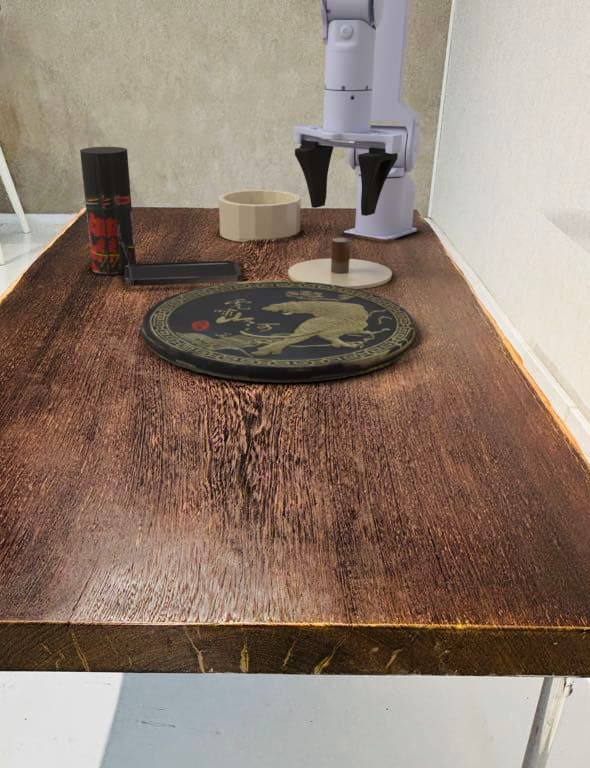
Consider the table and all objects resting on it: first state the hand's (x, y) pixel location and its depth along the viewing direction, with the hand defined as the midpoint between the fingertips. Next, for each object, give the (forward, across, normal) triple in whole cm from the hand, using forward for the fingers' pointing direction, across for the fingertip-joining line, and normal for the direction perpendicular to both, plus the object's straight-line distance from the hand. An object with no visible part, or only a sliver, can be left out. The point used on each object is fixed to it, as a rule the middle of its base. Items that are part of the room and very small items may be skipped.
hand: (342, 210), depth 108 cm
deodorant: (+9, -27, -15) cm, 32 cm away
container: (+9, -25, +14) cm, 30 cm away
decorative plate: (+9, +7, -22) cm, 25 cm away
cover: (+8, 0, 0) cm, 8 cm away
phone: (+9, -16, -13) cm, 22 cm away
